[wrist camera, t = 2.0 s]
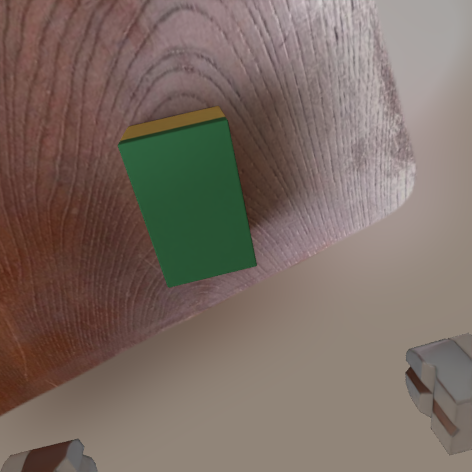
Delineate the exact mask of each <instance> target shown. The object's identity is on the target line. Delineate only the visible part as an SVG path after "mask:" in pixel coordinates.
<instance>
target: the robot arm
mask: <svg viewBox="0 0 472 472" xmlns="http://www.w3.org/2000/svg"><path fill="white" fill-rule="evenodd" d="M406 361H407V362H408V363H409V365H410V368H409V369H408V370H407V371H406V385H407V388H408V392H409V394H410V396H411V398H412V400H413V402H414V404H415V405H416V407H417V408H418V410H419V411H420V412H421V413H423V414H425V415H427V416H429V417H431V429H432V431H433V432H434V434H435V435H436V437H437V438H438V439H439V441H440V442H441V444H442V445H443V447H444V448H445V450H446V451H447V453H448V454H449V455H453V454H456V453H461V452H465V451H469V450H472V335H471V334H469V333H467V334H462V335H459V336H455V337H452V338H448V339H442V340H439V341H435V342H432V343H429V344H425V345H421V346H418V347H414V348H411V349H409V350H408V351H407V353H406ZM83 450H84V446H83V444H82V443H81V442H80V440H79V439H75V440H71V441H67V442H62V443H58V444H54V445H50V446H46V447H42V448H38V449H33V450H29V451H26V452H21V453H18V454H14V455H10V457H9V458H8V459H7V460H6V461H5V463H4V464H3V467H2V469H1V472H98V471H97V467H96V464H95V462H94V461H93V459H92V458H91V457H89V456H86V455H83Z"/></svg>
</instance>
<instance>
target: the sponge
mask: <svg viewBox="0 0 472 472" xmlns="http://www.w3.org/2000/svg"><path fill="white" fill-rule="evenodd" d="M118 148H119V151H120V153H121V156H122V159H123V162H124V165H125V167H126V170H127V173H128V176H129V179H130V182H131V184H132V187H133V190H134V193H135V196H136V198H137V201H138V204H139V207H140V210H141V213H142V215H143V218H144V221H145V224H146V227H147V230H148V232H149V235H150V238H151V241H152V244H153V246H154V249H155V252H156V255H157V258H158V261H159V263H160V266H161V269H162V272H163V275H164V277H165V280H166V283H167V286H168V287H173V286H177V285H181V284H186V283H190V282H194V281H198V280H202V279H206V278H210V277H214V276H218V275H222V274H226V273H230V272H234V271H238V270H242V269H246V268H250V267H255V266H257V263H256V258H255V253H254V248H253V243H252V238H251V233H250V228H249V223H248V218H247V213H246V208H245V203H244V198H243V193H242V188H241V184H240V179H239V174H238V169H237V164H236V159H235V154H234V149H233V144H232V139H231V134H230V129H229V124H228V120H227V118H226V117H225V115H224V114H223V112H222V111H221V109H220V108H219V106H215V107H211V108H207V109H202V110H198V111H194V112H189V113H185V114H181V115H176V116H172V117H168V118H163V119H159V120H155V121H150V122H146V123H142V124H137V125H133V126H129V127H128V128H127V129H126V131H125V133H124V135H123V137H122V138H121V140H120V142H119V144H118Z"/></svg>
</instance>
